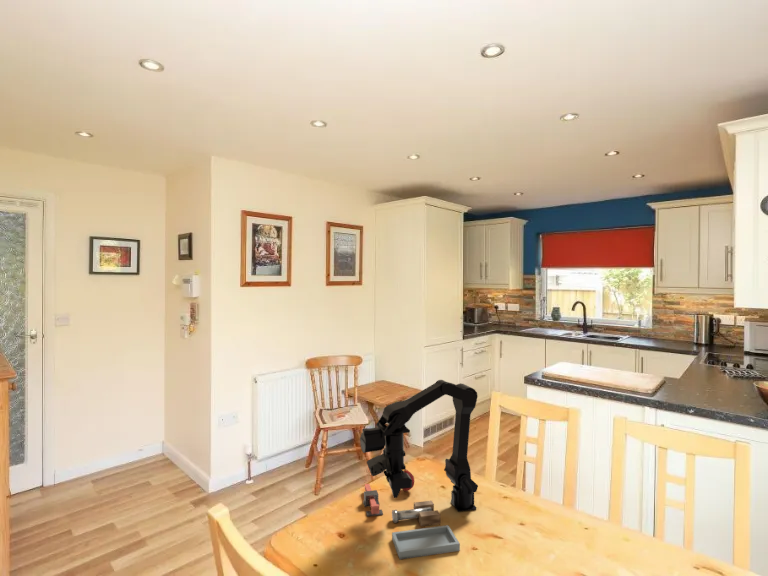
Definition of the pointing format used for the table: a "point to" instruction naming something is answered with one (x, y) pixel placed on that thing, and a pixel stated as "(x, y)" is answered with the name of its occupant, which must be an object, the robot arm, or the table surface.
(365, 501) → the keeper guide
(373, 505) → the keeper bar
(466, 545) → the table surface
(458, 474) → the robot arm
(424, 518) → the channel block
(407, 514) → the pin
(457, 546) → the tray
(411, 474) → the onion
